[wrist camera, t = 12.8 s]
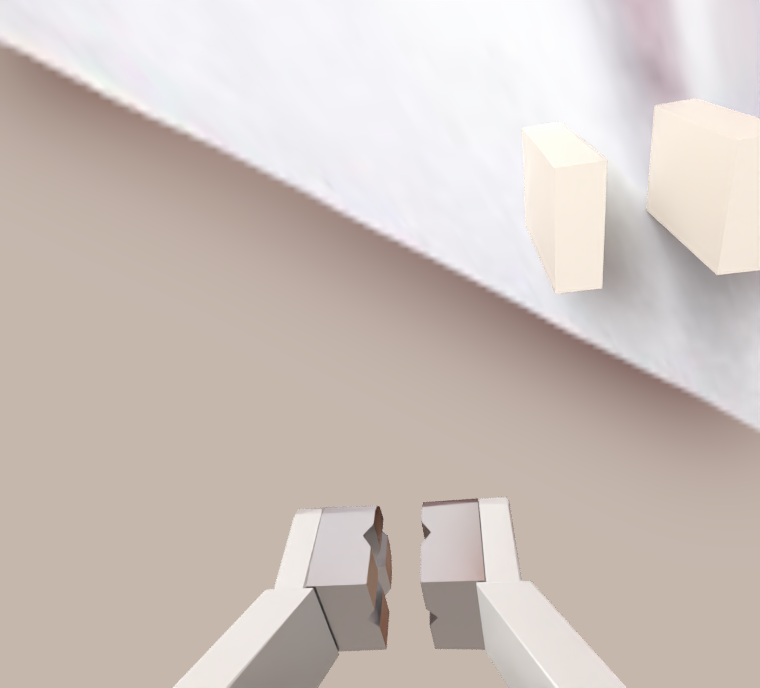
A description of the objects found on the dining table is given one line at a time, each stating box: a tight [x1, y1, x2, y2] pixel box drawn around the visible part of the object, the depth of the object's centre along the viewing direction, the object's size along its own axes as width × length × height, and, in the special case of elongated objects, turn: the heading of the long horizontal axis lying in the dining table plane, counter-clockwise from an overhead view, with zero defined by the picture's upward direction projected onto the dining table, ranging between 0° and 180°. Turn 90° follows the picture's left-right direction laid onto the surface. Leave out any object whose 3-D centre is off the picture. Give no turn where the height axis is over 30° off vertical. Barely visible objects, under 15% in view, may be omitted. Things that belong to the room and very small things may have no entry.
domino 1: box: [522, 121, 607, 294], centre depth 23 cm, size 2×5×8 cm, turn 10°
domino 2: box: [646, 98, 760, 275], centre depth 22 cm, size 2×5×8 cm, turn 10°
